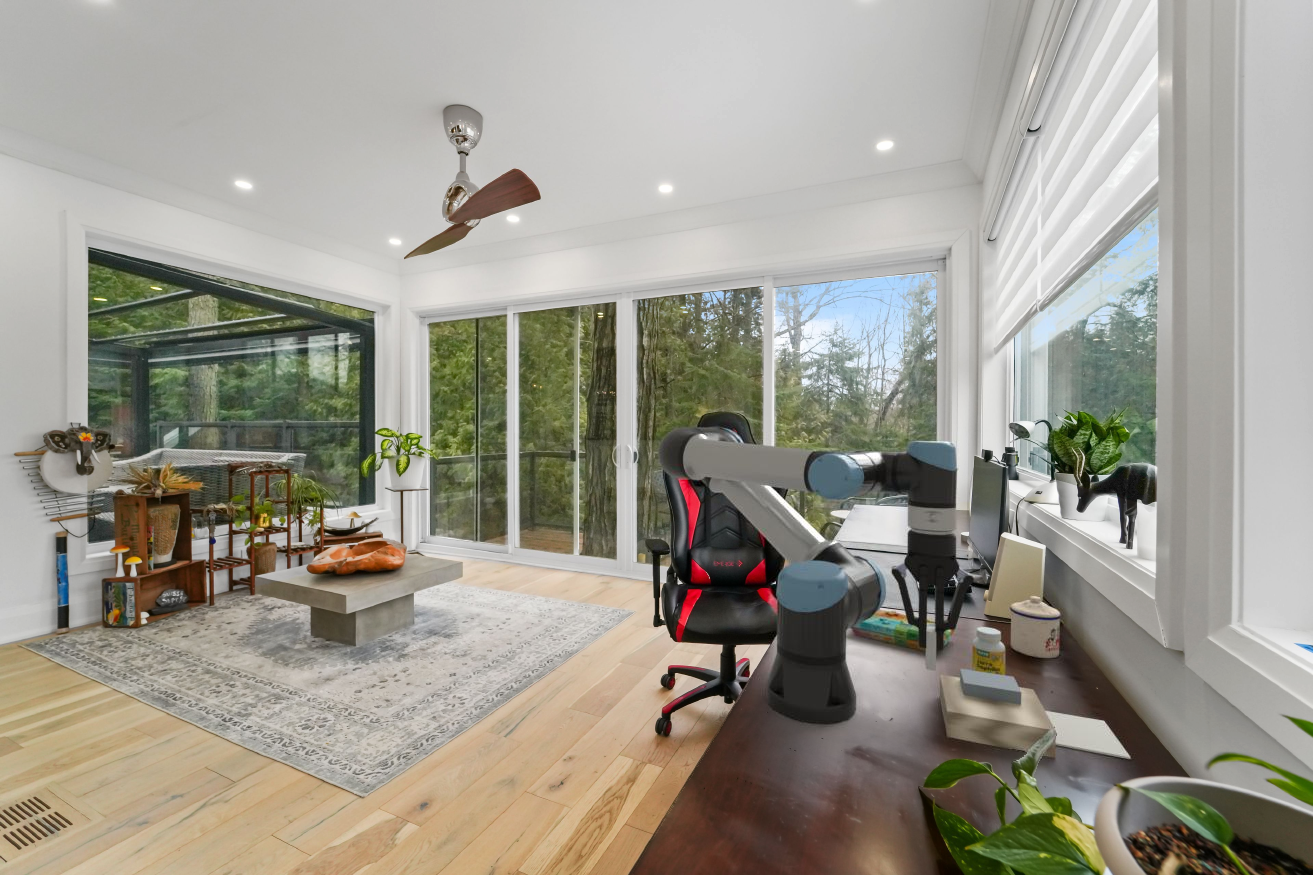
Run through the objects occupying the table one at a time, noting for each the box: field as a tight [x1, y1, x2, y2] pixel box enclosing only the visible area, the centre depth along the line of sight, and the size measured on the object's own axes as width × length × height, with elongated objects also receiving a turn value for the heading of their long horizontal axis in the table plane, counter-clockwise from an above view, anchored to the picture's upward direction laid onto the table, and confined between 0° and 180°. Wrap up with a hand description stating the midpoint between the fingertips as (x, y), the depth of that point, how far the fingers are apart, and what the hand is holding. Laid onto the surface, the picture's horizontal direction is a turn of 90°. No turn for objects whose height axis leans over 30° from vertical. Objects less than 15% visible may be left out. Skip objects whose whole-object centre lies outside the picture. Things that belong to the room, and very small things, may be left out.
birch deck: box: [939, 674, 1057, 759], centre depth 90 cm, size 14×14×4 cm
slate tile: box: [959, 668, 1021, 705], centre depth 93 cm, size 8×6×2 cm
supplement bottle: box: [971, 626, 1006, 676], centre depth 106 cm, size 5×5×10 cm
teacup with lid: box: [1009, 595, 1062, 659], centre depth 121 cm, size 12×9×12 cm
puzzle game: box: [850, 608, 956, 652], centre depth 127 cm, size 12×5×20 cm
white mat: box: [1045, 710, 1132, 760], centre depth 88 cm, size 10×11×1 cm
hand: (930, 666), depth 96 cm, fingers closed
